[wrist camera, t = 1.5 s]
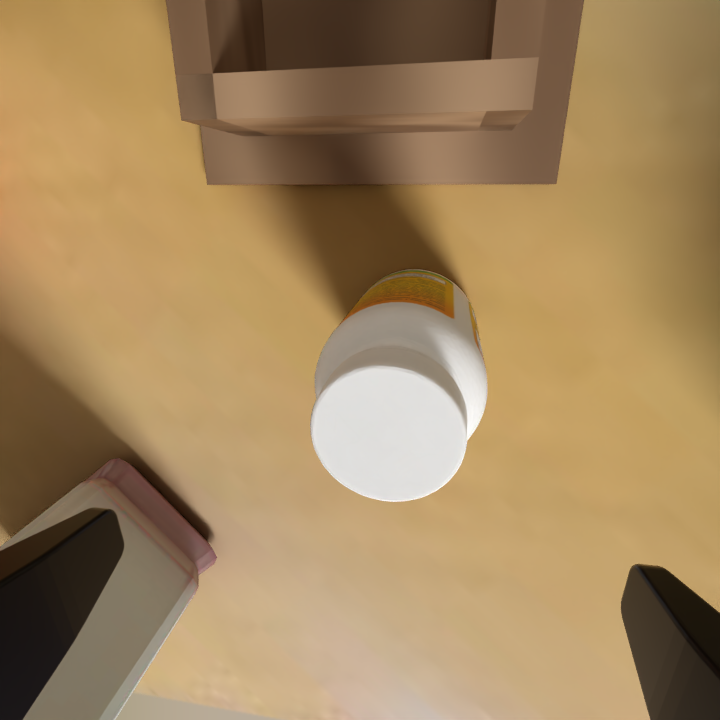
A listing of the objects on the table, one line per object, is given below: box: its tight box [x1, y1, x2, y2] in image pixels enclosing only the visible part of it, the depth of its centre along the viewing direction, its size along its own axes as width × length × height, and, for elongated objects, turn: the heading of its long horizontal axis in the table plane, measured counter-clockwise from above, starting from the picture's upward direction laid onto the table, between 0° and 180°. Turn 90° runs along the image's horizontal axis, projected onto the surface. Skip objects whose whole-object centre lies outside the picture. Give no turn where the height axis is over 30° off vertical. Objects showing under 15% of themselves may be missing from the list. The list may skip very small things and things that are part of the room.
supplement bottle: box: [310, 269, 487, 502], centre depth 15 cm, size 5×5×10 cm
